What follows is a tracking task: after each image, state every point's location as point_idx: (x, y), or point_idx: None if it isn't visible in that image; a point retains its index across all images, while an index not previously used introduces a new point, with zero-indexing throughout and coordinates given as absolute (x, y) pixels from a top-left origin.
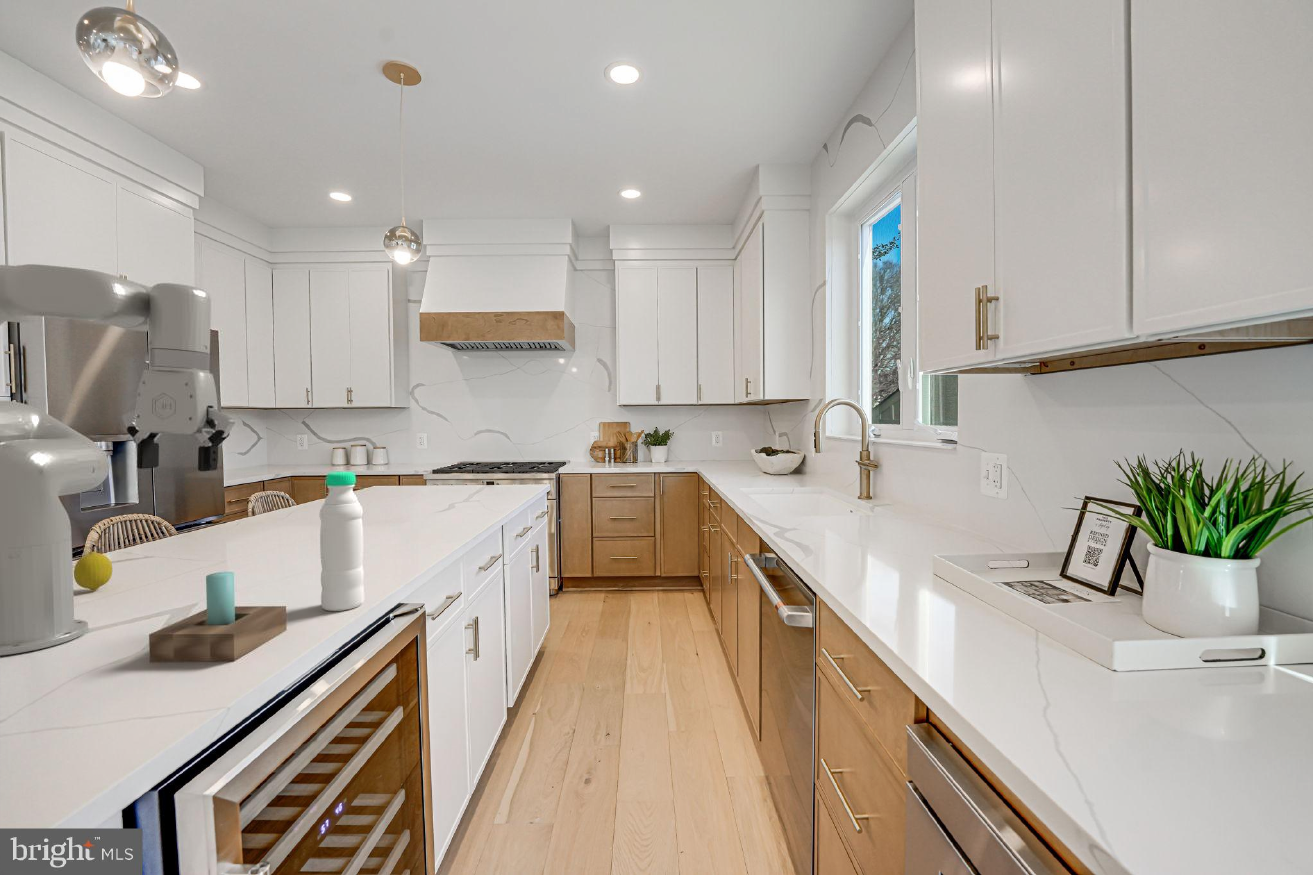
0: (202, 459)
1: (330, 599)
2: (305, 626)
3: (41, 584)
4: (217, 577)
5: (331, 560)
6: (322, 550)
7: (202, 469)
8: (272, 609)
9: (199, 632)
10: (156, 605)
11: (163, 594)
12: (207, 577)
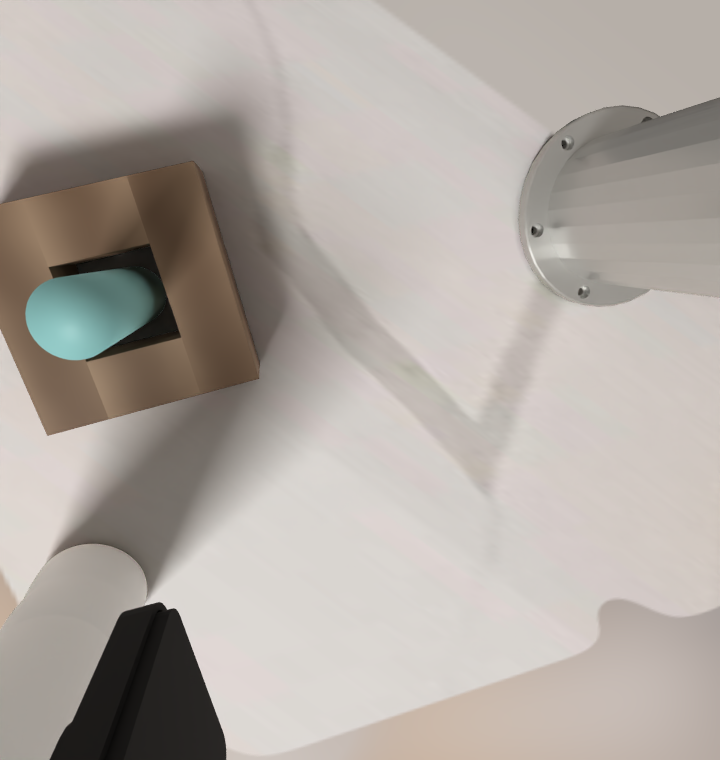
0: (80, 719)
1: (69, 560)
2: (49, 446)
3: (643, 173)
4: (38, 287)
5: (12, 645)
6: (42, 668)
7: (124, 623)
8: (56, 402)
9: (66, 203)
10: (564, 454)
11: (622, 513)
12: (77, 278)
